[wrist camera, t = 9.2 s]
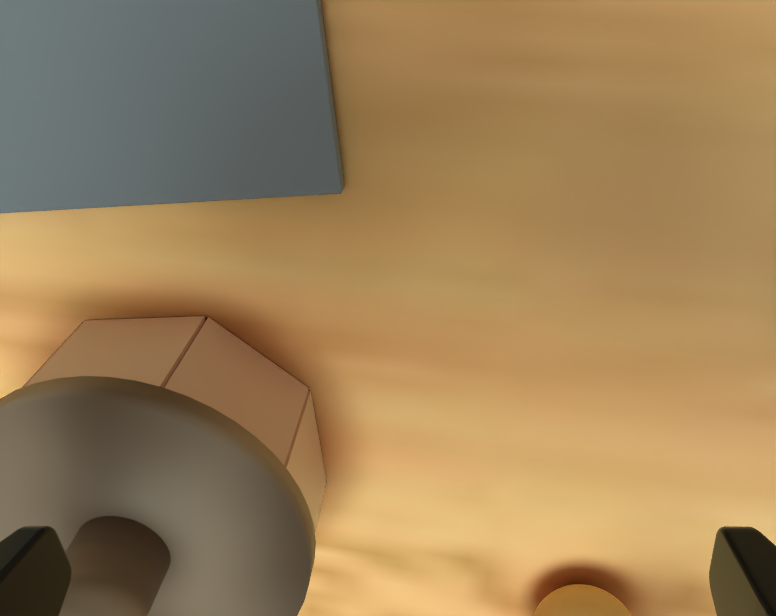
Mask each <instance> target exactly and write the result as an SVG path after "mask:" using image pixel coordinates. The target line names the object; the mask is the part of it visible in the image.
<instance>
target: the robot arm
mask: <svg viewBox="0 0 776 616" xmlns="http://www.w3.org/2000/svg"><path fill="white" fill-rule="evenodd" d="M71 577H72V569H71V564H70V561H69V559H68V557H67V554H66V552H65V550H64V548H63V545H62V543H61V541H60V539H59V536H58V534H57V532H56V531H55V530H54V529H53V528H52V527H50V526H24V527H21V528H19V529H17V530H16V531H14V532H13V533H12V534H10V535H9V536H7V537H6V538H5V539H3V540H2V541H0V616H59V615H60V612H61V609H62V606H63V603H64V600H65V597H66V594H67V591H68V588H69V586H70V582H71ZM709 581H710V588H711V593H712V597H713V601H714V605H715V609H716V613H717V616H776V546H775V545H774V544H773V543H772V542H771V541H770V540H768V539H767V538H766V537H765V536H764V535H763V534H762V533H761V532H759V531H758V530H756V529H754V528H752V527H721V528H720V529H719V530H718V532H717V534H716V538H715V544H714V549H713V554H712V560H711V565H710V571H709Z"/></svg>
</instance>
